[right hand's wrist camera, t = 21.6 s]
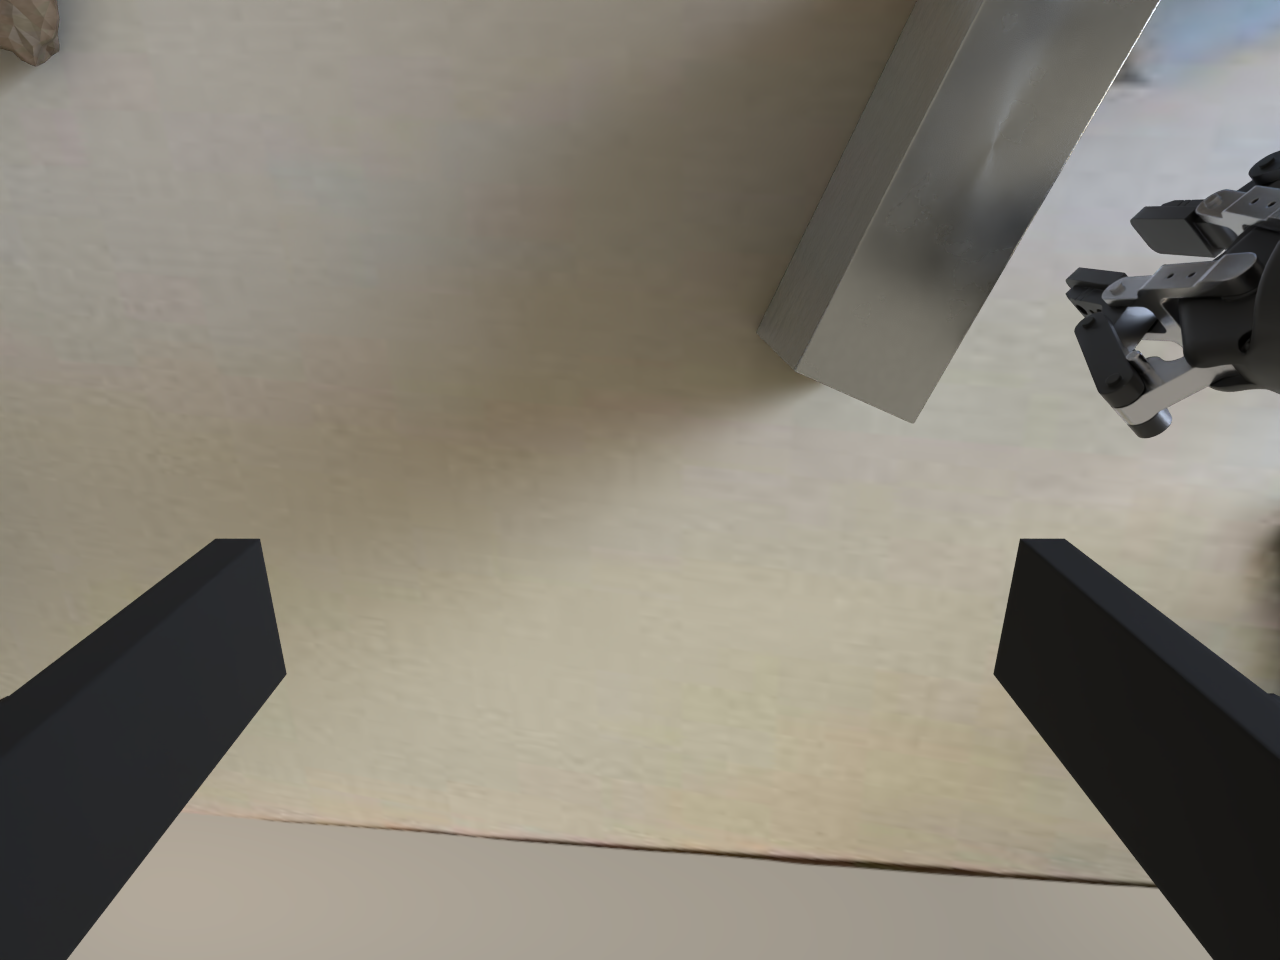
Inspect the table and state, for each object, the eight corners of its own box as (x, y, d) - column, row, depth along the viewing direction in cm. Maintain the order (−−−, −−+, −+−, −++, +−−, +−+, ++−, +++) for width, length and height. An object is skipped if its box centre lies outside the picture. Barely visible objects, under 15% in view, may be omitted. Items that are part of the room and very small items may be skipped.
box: (961, -91, 35) (1095, -219, 25) (1066, -32, 36) (1238, -132, 26) (755, 332, 42) (793, 371, 32) (847, 374, 43) (914, 424, 32)
